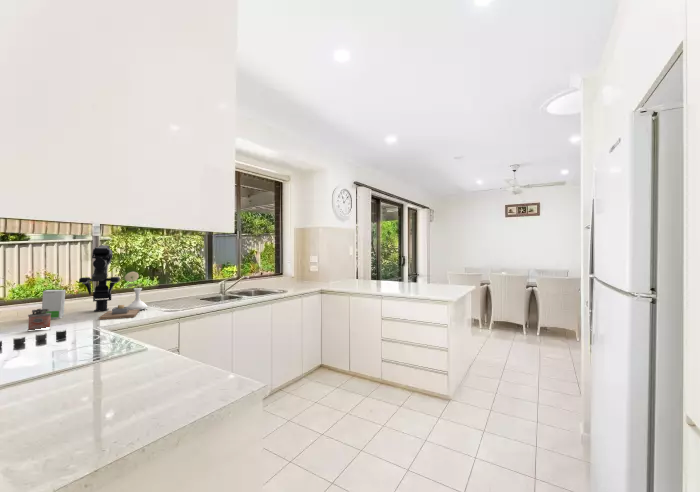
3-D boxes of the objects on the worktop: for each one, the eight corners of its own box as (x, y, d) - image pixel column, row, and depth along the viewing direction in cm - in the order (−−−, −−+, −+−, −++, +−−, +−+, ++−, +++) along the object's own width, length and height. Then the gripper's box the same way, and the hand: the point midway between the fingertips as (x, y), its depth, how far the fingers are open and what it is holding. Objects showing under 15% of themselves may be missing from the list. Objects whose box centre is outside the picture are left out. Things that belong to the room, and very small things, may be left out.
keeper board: (107, 313, 191) (108, 303, 191) (139, 311, 198) (139, 302, 199) (99, 319, 173) (99, 308, 174) (134, 317, 181) (134, 306, 181)
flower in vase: (147, 307, 213) (148, 270, 214) (147, 310, 204) (148, 271, 205) (123, 309, 206) (125, 271, 207) (122, 312, 197) (124, 272, 198)
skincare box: (40, 319, 172) (41, 291, 172) (45, 317, 178) (46, 289, 178) (60, 318, 176) (61, 290, 176) (64, 316, 182) (65, 289, 182)
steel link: (114, 312, 187) (114, 307, 188) (128, 311, 191) (129, 306, 191) (112, 314, 181) (112, 309, 181) (126, 313, 184) (126, 308, 184)
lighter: (26, 331, 146) (26, 309, 146) (29, 330, 149) (30, 308, 149) (48, 330, 149) (49, 308, 149) (52, 328, 152) (52, 307, 152)
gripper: (76, 268, 178) (75, 296, 177) (117, 268, 186) (116, 295, 186) (82, 268, 188) (81, 294, 187) (120, 267, 196) (119, 293, 196)
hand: (99, 294), depth 189 cm, fingers open, 9 cm apart
